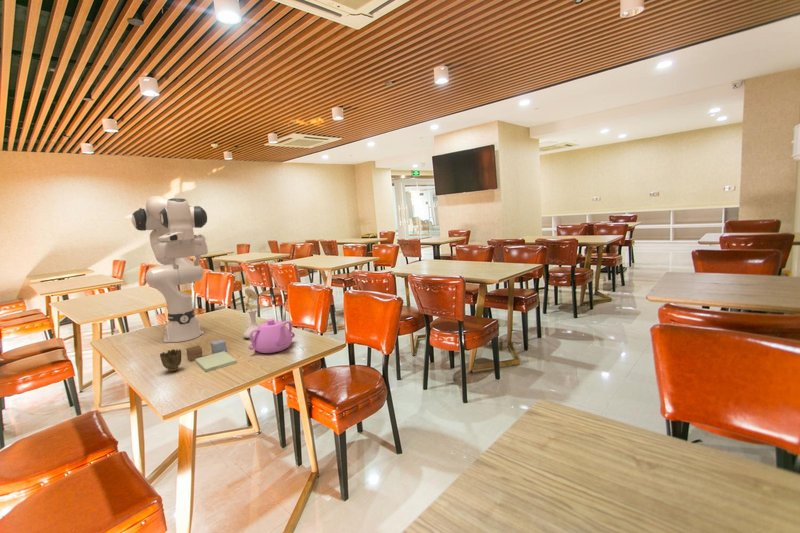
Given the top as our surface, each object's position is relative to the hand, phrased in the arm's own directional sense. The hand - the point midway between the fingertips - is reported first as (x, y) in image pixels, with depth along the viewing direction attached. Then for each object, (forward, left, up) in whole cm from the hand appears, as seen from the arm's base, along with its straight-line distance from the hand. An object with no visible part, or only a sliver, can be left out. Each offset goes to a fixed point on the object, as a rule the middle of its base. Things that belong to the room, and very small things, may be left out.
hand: (186, 267), depth 163 cm
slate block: (+5, +7, -40) cm, 41 cm away
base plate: (+17, +2, -40) cm, 44 cm away
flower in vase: (-5, +27, -40) cm, 49 cm away
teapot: (+23, +26, -40) cm, 53 cm away
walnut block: (+5, -3, -40) cm, 40 cm away
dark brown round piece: (+13, -13, -40) cm, 44 cm away
